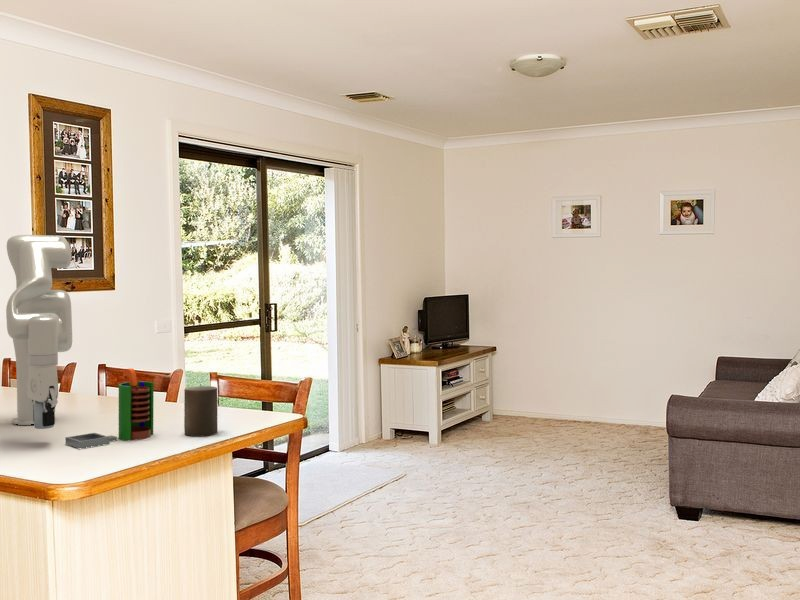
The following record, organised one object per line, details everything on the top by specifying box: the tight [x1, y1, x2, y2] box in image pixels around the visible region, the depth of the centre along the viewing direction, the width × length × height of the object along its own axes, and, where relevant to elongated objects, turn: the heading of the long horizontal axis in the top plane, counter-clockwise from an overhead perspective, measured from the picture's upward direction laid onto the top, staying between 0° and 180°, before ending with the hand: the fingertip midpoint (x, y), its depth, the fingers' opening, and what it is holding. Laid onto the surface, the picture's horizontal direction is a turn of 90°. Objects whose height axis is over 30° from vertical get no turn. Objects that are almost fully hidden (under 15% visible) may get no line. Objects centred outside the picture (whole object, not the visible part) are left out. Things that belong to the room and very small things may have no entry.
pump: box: [33, 399, 55, 430], centre depth 224 cm, size 5×5×9 cm
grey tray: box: [64, 432, 118, 449], centre depth 224 cm, size 9×12×2 cm
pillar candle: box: [183, 383, 218, 437], centre depth 238 cm, size 10×10×15 cm
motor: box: [118, 368, 155, 441], centre depth 232 cm, size 10×9×20 cm
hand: (44, 423), depth 224 cm, fingers closed on pump, 5 cm apart
